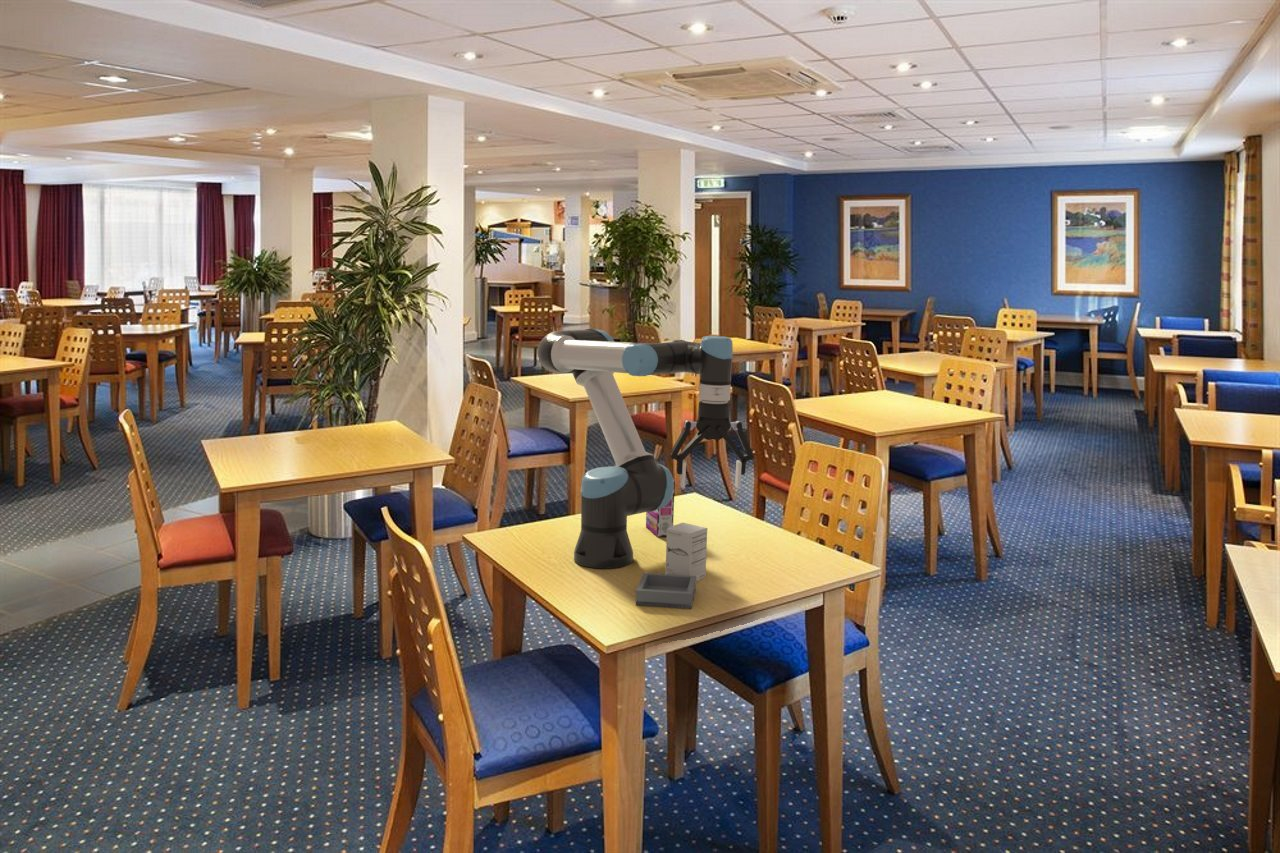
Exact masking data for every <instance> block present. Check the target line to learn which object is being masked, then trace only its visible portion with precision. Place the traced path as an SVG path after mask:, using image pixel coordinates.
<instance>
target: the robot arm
mask: <svg viewBox="0 0 1280 853" xmlns="http://www.w3.org/2000/svg"><path fill="white" fill-rule="evenodd" d="M733 349H734V348H733V339H732V338H730V337H729V336H721V335H720V336H718V335H704V336H703V337H702V338H701V342H696V341H695V342H694V341H688V340H684V339H672V340H669V341H667V342H625V341H615V339H613V336H611V335H610V334H609V333H608V332H606V331H605V330H602V329H594V328H587V329H571V330H567V329H566V330H562V329H561V330H555V331H551V332H549V333H548V334H546V335H545V336H544V337H543V338H542V339H541V341H539V344H538V348H537V358H538V361H539V363H540V364H541V366H542V367H543V368H544V369H545V370H546V371H548V372H550V373H554V374H572V375H573V378H574V381H575V382H576V384H577V385H578V386H581V387H584V390H585V392H586V395H587V397H588V400H589V402H590V405H591V408H592V410H593V412H594V414H595V417H596V419H597V422H598V424H599V426H600V428H601V431H602V433H603V436H604V438H605V440H606V443H607V446H608V448H609V451H610V453H611V455H612V458H613V460H614V463H615V465H610V466H601V467H600V466H599V467H596V468H592V469H590V470H588V471H586V472H585V474H584V475H583V476H582V479H581V487H580V498H581V499H580V500H581V503H580V508H581V509H580V510H581V511H580V513H581V516H580V517H581V518H580V520H581V521H580V533H579V536H578V538H577V541H576V544H575V548H574V550H573V561H574V562H575V563H576V564H577V565H580V566H581V567H582V566H583V567H587V568H590V569H591V568H592V569H616V568H621V567H625V566H628V565H630V564H632V563H633V561H634V550H633V547H632V543H631V540H630V538H629V533H628V530H627V529H628V528H627V526H628V525H627V524H628V516H634V515H639V514H643V513H646V512H648V511H649V512H651V511H655V510H656V509H660V508H663V507H664V506H666V505H667V504H668V503H669V501H670V500H671V498H672V492H673V490H674V491H675V488H674V482H673V479H674V478H673V475H672V472H671V471H670V469H669V468H668V467H666V466H665V465H663V464H658V463H657V461H656V458H655V456H654V454H653V453H649V452H648V451H646V449H645V447H644V445H643V443H642V440H641V437H640V435H639V433H638V430H637V428H636V426H635V423H634V421H633V419H632V416H631V415H630V412H629V410H628V407H627V405H626V401H625V400H624V397H623V395H622V392H621V390H620V387H619V385H618V383H617V380H616V378H615V376H614V373H619V374H620V373H621V374H628V375H630V376H633V377H648V376H653V375H665V374H667V375H668V374H669V375H670V374H679V373H689V374H695V375H699V387H698V389H699V390H698V399H699V400H700V401H699V402H698V406H697V407H698V408H697V420H696V421H691V420H689V419H685V420H684V423H683V429H682V431H680V432H681V433H680V434H679V436H678V437H677V440H676V442H675V443H674V445H673V447H672V449H671V451H669V457H670V458H671V459H672V460H675V461H676V473H677V474H678V475H680V480H679V483H680V484H679V485H680V488H681V489H682V490H683V489H684V490H685V489H686V477H687V476H686V474H687V473H686V472H687V461H686V460H685V459H686V458H687V457H688V456H689V455H690V453H691V452H692V451H693V450H694V449H695V448H696V447H697V446H698V445H699V444H700V442H702V441H703V440H706V441H711V440H715V441H720V440H722V439H723V440H724V441H725V443H726V444H727V445H728V446H729V447H730V449H731V450H732V451H733V452H734V454H735V455H736V456H737V458H738V459H737V460H735V463H736V464H735V474H734V475H735V478H734V480H735V481H734V487H735V488H736V489H738V490H740V489H741V484H742V482H741V480H742V476H744V475H745V474H746V465H747V464H746V463H747V461H752V460H753V459H754V457H755V456H754V453H753V452H752V450H751V447H750V445H749V443H748V441H747V437H746V435H745V434H744V431H743V423H742V422H741V421H740V420H736V421H731V422H730V408H731V407H730V406H731V404H730V403H729V401H730V400H731V391H732V389H731V388H732V387H731V386H732V369H733V368H732V367H733V358H734V351H733ZM694 428H696V429H697V432H696V434H695V435H694V437H693V438H692V439H691V440H690V441H689V442H688V443H687V444H686V446H685V447H684V448H683V449H682V447H683V445H684V444H685V441H686V440H687V439H688V436H689V435H690V432H691V431H692V430H694ZM731 428H732V429H733V431H735V433H736V435H737V436H738V440H739V441H740V444H741V447H742V449H743V450H744V453H745V454H743V453H742V451H741V450H740V449H739V447H738V446H737V445H736V443H734V441H733V440H732V439H731V438H730V436H729V435H728V434H727V433H728V432H729V430H730V429H731ZM681 449H682V450H681Z"/></svg>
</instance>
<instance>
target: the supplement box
mask: <svg viewBox="0 0 1280 853" xmlns="http://www.w3.org/2000/svg"><path fill="white" fill-rule="evenodd" d="M707 542H708V527H704V526H699V525H696V524H695V525H694V524H691V523H687V522H681V523H678V524H673V526H672V527H669V528H667V537H666V543H665V544H666V546H665V547H666V548H665V549H666V550H665V572H664V574H672V575H688V576H696V582H697V581H699V580H701V579H704V578H706V572H707V570H706V569H707Z"/></svg>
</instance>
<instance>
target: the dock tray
mask: <svg viewBox="0 0 1280 853" xmlns="http://www.w3.org/2000/svg"><path fill="white" fill-rule="evenodd" d="M696 591H697V581H696V576H688V575H672V574H665V573H656V572H655V573H654V572H653V573H652V572H651V573H650V572H643V573H642V575H641V578H640V580H639V583H638V585H637V587H636V589H635V606H639V607H653V608H654V607H656V608H668V609H669V608H670V609H683V610H684V609H687V610H692V608H693V603H694V601H695V595H696Z"/></svg>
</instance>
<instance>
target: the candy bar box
mask: <svg viewBox="0 0 1280 853" xmlns="http://www.w3.org/2000/svg"><path fill="white" fill-rule="evenodd" d="M675 481H676V480H675V479H674V478H673V482H674V490H673V492H672V498H671V500H670V501H669V503H668V504H667V505H666V506H664V507H663V508H660V509H656V510H655V511H651V512H649V511H648V512H645V527H646V529H648V530H649V532H651V533H652V534H654V536H655V537H657V538H664V537H666V538H667V528H669V527H672V526H674V517H675V516H674V513H675V511H674V507H675V488H676V487H675V484H676V482H675Z"/></svg>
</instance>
